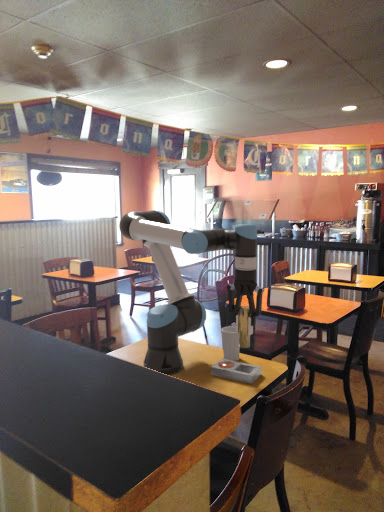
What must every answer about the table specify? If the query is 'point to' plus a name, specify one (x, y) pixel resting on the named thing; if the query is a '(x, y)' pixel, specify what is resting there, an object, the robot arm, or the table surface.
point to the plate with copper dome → (236, 371)
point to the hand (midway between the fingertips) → (244, 332)
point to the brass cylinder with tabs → (244, 327)
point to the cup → (230, 343)
